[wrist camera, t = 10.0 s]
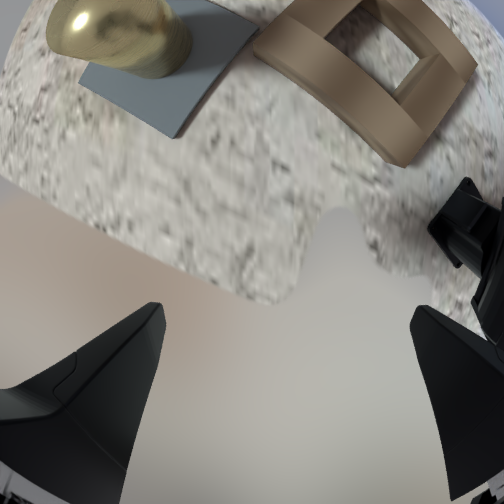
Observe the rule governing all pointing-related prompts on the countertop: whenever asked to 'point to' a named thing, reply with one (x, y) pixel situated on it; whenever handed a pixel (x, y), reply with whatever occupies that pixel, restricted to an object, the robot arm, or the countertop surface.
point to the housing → (359, 82)
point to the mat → (183, 79)
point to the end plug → (121, 35)
